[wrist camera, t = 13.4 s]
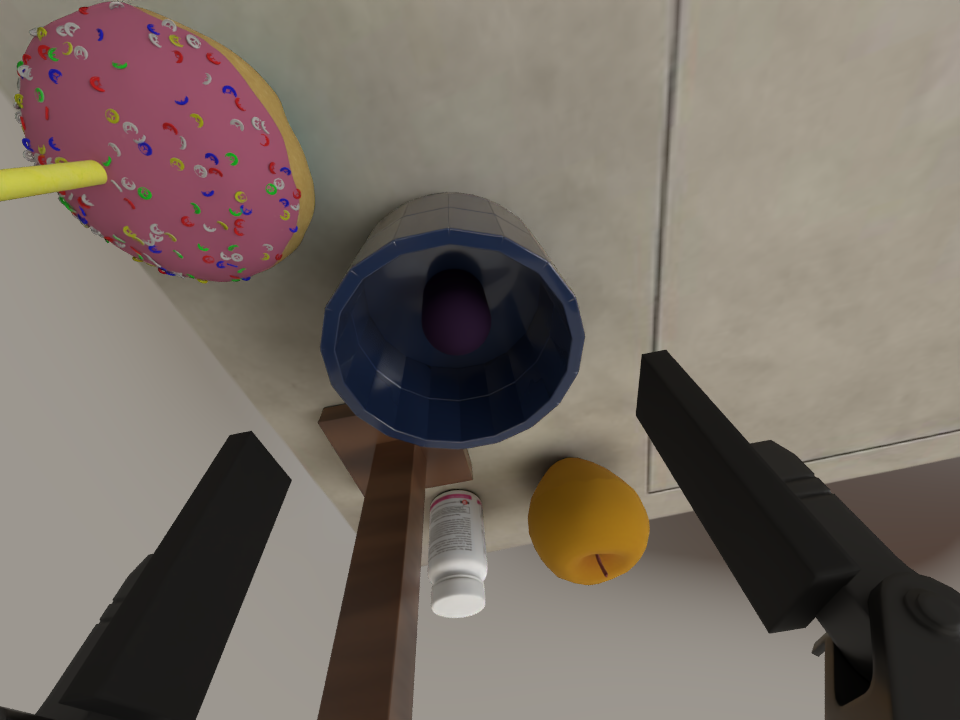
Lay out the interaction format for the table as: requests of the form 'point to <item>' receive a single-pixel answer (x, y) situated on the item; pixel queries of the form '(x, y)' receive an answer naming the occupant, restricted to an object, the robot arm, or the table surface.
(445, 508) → the pill bottle
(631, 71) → the table surface
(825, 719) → the robot arm
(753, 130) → the table surface
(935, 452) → the table surface
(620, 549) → the apple
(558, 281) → the pot
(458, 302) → the purple plum
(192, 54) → the cupcake
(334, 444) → the stand
